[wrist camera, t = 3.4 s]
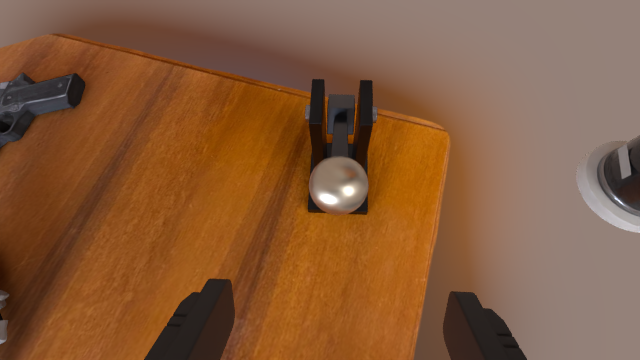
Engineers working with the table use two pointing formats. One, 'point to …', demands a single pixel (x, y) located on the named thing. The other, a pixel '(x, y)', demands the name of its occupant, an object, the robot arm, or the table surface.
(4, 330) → the toy
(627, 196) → the robot arm
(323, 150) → the switch bracket
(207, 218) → the table surface
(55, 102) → the handgun
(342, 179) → the switch lever
